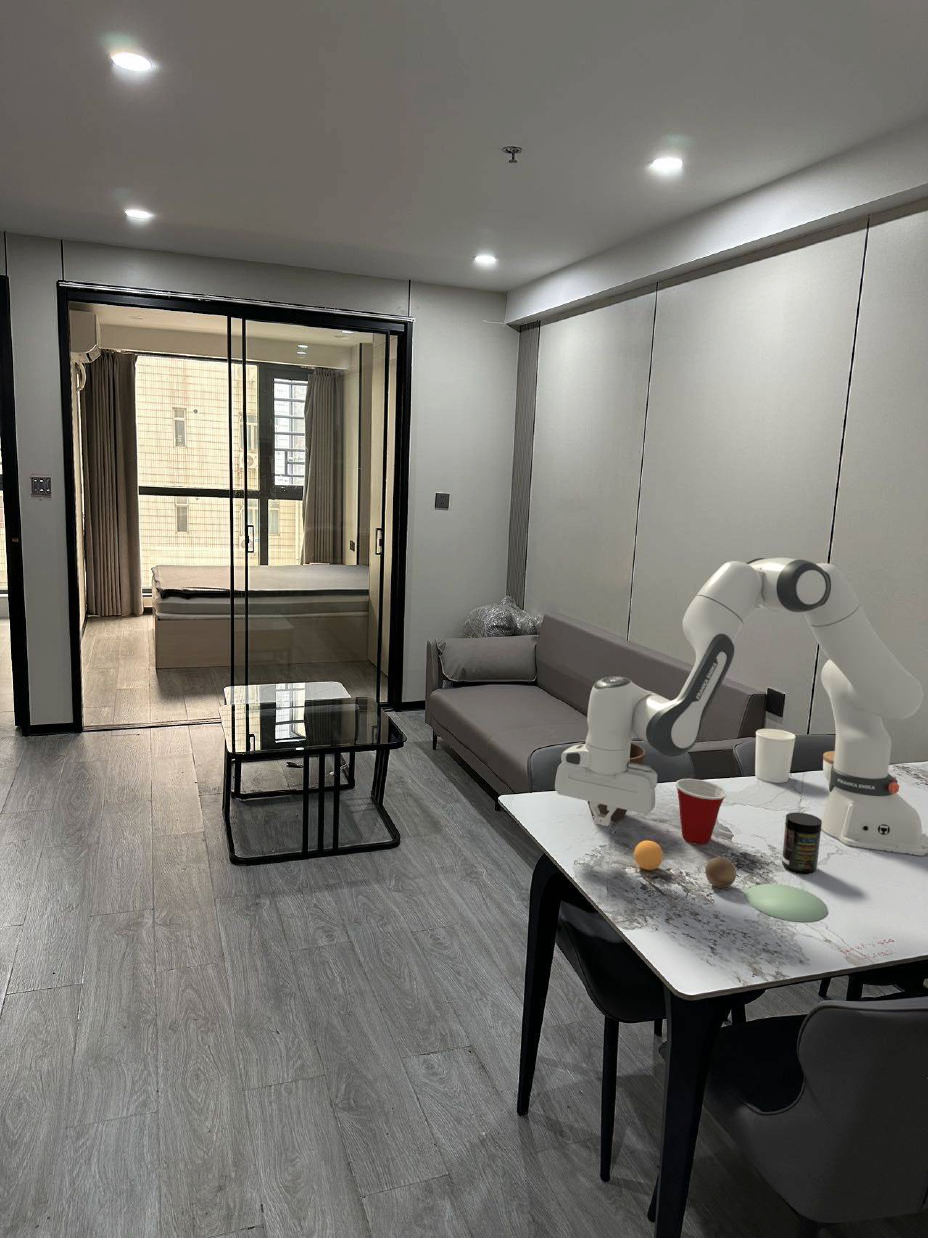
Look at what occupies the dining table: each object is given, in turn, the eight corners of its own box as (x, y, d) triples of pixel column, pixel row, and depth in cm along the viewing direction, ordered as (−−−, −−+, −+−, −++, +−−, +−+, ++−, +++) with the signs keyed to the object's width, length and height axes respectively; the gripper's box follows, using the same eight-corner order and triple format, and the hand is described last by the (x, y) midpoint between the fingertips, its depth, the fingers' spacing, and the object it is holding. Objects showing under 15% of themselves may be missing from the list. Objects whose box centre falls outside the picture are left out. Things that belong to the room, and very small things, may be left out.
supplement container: (824, 874, 169) (829, 823, 168) (795, 877, 167) (800, 826, 166) (801, 859, 176) (806, 811, 174) (774, 862, 174) (778, 813, 172)
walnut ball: (737, 884, 164) (740, 856, 163) (731, 896, 159) (734, 867, 158) (708, 877, 166) (710, 849, 165) (701, 888, 161) (703, 860, 161)
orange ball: (665, 866, 170) (667, 840, 169) (657, 877, 165) (659, 850, 164) (638, 860, 173) (639, 833, 172) (629, 870, 168) (631, 843, 167)
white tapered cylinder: (770, 786, 220) (774, 740, 218) (744, 773, 229) (747, 730, 227) (799, 781, 224) (804, 737, 222) (772, 770, 232) (776, 727, 231)
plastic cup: (725, 852, 178) (730, 797, 176) (672, 846, 180) (676, 792, 178) (721, 832, 188) (725, 780, 186) (670, 827, 190) (674, 775, 189)
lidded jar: (875, 791, 218) (879, 756, 217) (840, 794, 215) (843, 758, 214) (845, 777, 228) (848, 743, 227) (811, 780, 225) (814, 746, 224)
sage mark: (831, 897, 160) (831, 896, 160) (822, 929, 148) (822, 928, 147) (753, 878, 166) (753, 877, 166) (739, 908, 154) (739, 907, 154)
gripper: (662, 763, 168) (657, 830, 170) (565, 744, 178) (561, 808, 180) (653, 772, 163) (647, 841, 165) (554, 752, 172) (549, 817, 174)
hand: (602, 824), depth 172 cm, fingers closed
